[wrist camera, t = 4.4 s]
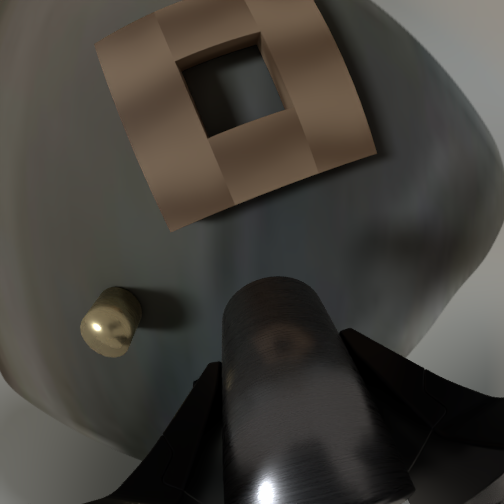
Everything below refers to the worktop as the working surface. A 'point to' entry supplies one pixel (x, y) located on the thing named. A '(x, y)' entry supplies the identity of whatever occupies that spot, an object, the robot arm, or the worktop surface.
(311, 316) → the tall pin
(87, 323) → the short pin
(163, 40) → the hole plate
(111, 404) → the worktop surface
